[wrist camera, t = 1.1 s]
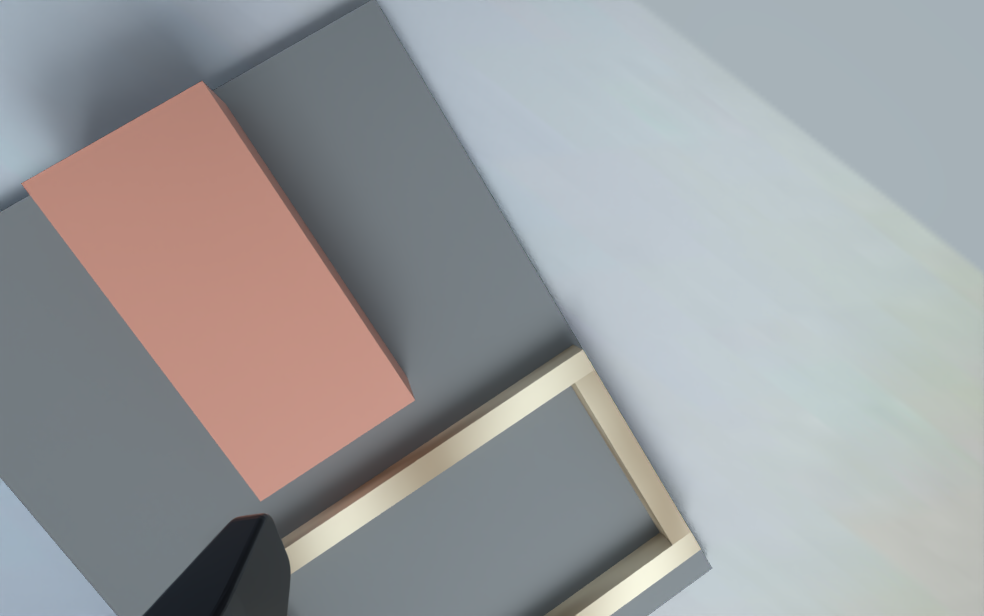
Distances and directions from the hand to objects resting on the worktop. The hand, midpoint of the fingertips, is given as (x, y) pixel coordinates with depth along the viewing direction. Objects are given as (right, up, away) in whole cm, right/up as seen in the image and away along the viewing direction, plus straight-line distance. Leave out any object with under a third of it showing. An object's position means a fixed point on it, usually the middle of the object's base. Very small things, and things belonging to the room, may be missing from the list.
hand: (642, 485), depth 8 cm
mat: (-7, -3, +14) cm, 16 cm away
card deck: (-9, +3, +12) cm, 16 cm away
